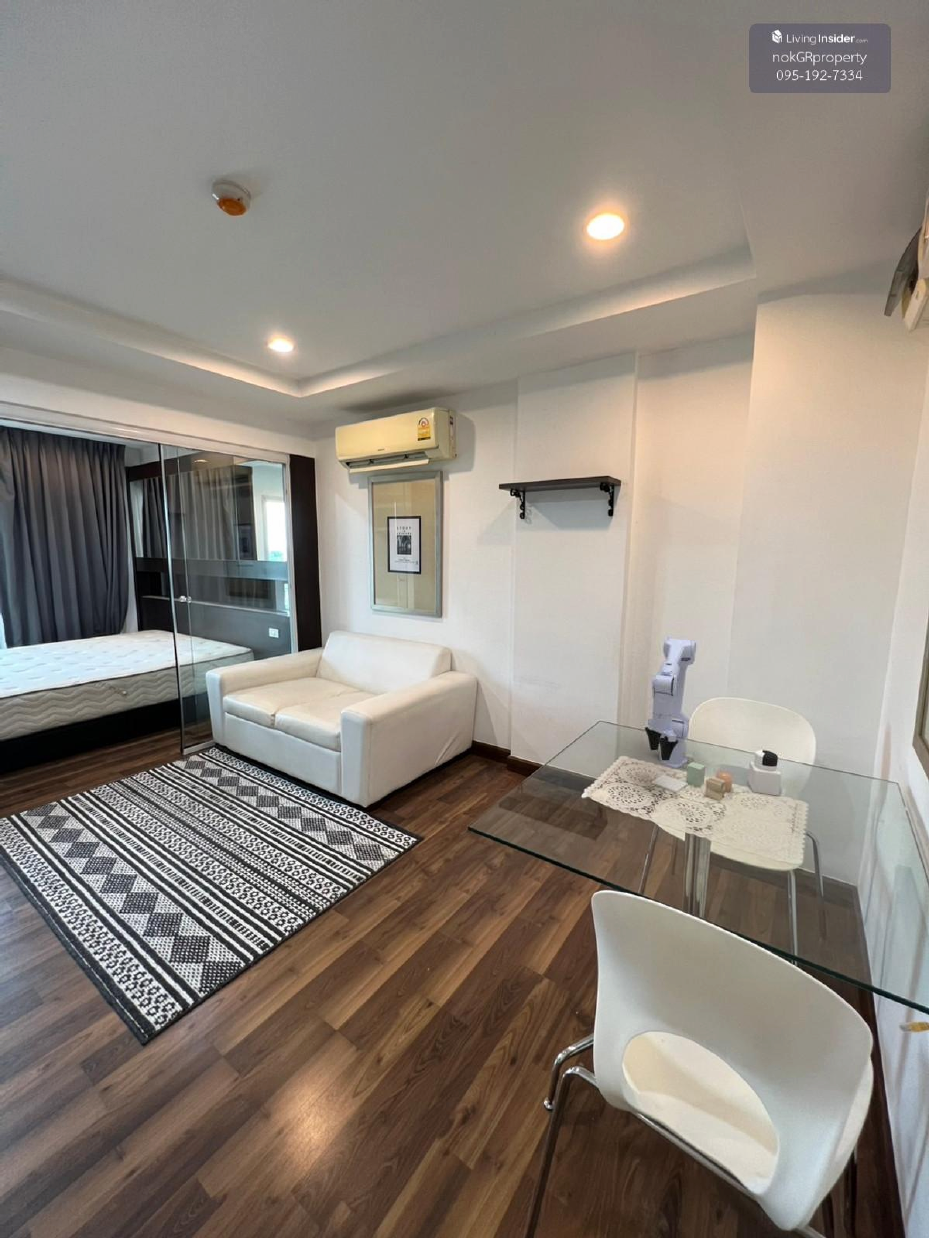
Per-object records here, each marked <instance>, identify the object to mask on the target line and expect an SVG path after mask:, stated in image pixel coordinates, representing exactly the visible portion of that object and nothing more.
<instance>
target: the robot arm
mask: <svg viewBox="0 0 929 1238" xmlns="http://www.w3.org/2000/svg"><path fill="white" fill-rule="evenodd" d="M662 650H663V655H664V658H665V661H663V662H662V663H661V665H660V667H659V669H658V673H657V674H656V675H653V678H652V680H651V681H652V682H651V690H652V694H651V695H652V699H653V702H652V713H651V714H652V715H651V716H652V717H651V718H648V719H647V725H648V726H645V727H644V730H645V732H646V736H647V737H648V738H647V739H648V742H649V748H650V751H658V749H659V756H658V757H659V761H661V763H662V764H665V765H668V766H670V767H673V768H676V769H677V768H679V767H680V766H682V765H683V764H685V763H686V762H689V760H688V759H686V753H687V742H686V740H687V739H688V737H689V730H690V720H689V719H690V718H689V717H688V716H687V715H686V714H685V713H684V712H683V711H682V708H683V700H684V691H685V683H686V674H687V670H688V666H690V665H694V663H695V658H696V652H697V642H696V641H695V640H693V639H692V640H689V639H682V638H681V639H680V638H679V639H678V638H672V637H671V638H670V637H666V638H665V639H664V641H663V648H662Z"/></svg>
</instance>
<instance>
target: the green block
mask: <svg viewBox="0 0 929 1238" xmlns="http://www.w3.org/2000/svg"><path fill="white" fill-rule="evenodd" d="M705 773H706V765H704V764H700V763H697V762H694V761H691V762H689V764H687V765H686V777H685V778H686V779H685V782H686V783H688V785H690V786H693V787H696V788H700V787H701V785H703V784H704V783H705V777H706V776H705V775H706V774H705Z"/></svg>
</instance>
